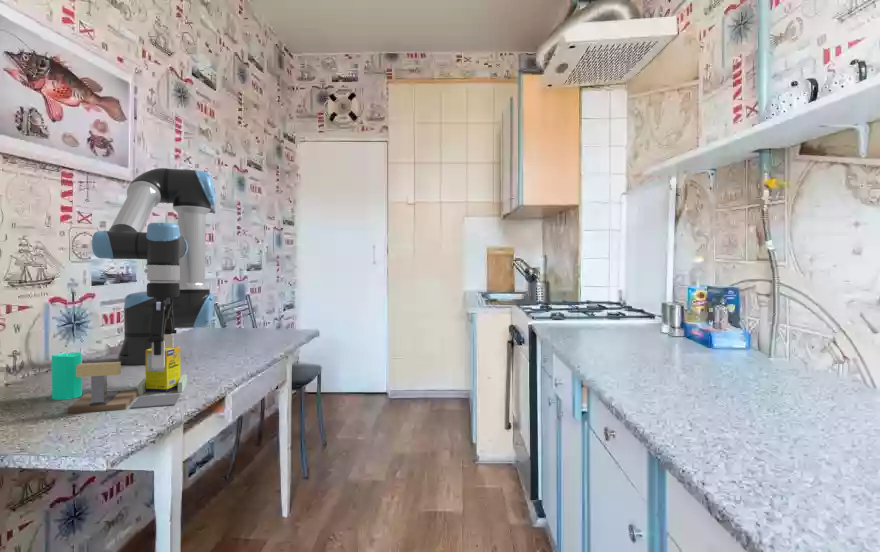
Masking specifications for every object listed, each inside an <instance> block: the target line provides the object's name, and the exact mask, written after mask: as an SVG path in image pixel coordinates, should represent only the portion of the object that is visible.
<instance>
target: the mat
mask: <svg viewBox="0 0 880 552" xmlns="http://www.w3.org/2000/svg"><path fill="white" fill-rule="evenodd" d="M180 396H181V393H174V394H172V393H171V394H161V395H160V394H159V395H146V396H144V395H143V396H138V398H137V399H136V401H135V402H134V403H133V404H132V405H131V406H130V409H132V410H133V409H143V408H157V407H158V408H159V407H169V406H170V407H171V406H175V405H176V404H177V402H178V400H179V398H180Z"/></svg>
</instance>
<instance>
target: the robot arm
mask: <svg viewBox="0 0 880 552" xmlns="http://www.w3.org/2000/svg"><path fill="white" fill-rule="evenodd" d="M159 204H172V209H173V210H174V211H175V212H176V213H177V224H176V223H170V222H149V223H148V225H147V227H146V224H147V222H148V219H149V218H150V215H151V214H152V211H153V209H154V207H156V206H158V205H159ZM216 204H217V203H216V192H215V187H214V180H213V178H212V175H211V174H210V172H208V171H205V170H204V171H203V170H197V169H182V168H181V169H177V168H167V167H166V168H165V167H160V168H159V167H158V168H154V169H150V170H148V171H145V172H143V173H141V174H140V175H137V176H136V177H135V178H134V179H133V180H132V181H131V182H130V183H129V185H128V187H127V188H126V198H125V200H124V202H123V204H122V206H121V207H120V209H119V211H118V212H117V215H116V217H115V219H114V221H113V222H112V224H111V226H110V227H109V230H106V229H105V230H98V231H95V232H94V233H93V235H92V239H91V248H92V253H93V255H94V256H95V257H96V258H97V259H98V258H99V259H108V260H146V265H147V266H146V268H145V269H144V273H146V280H147V281H148V282H147V283H146V290H145V291H139V292H134V293H130V294H127V295H126V296H125V298H124V305H123V306H124V307H123V312H124V315H123V317H124V320H123V322H124V323H123V326H124V327H123V330H124V331H123V332H124V336H123V337H124V339H123V341H122V344H121V347H120V350H119V352H118V356H117V362H121V365H127V366H128V365H129V366H130V365H131V366H133V365H134V366H135V365H137V366H138V365H146V361H145V351H146V350H147V349H151V348H152V368H164V367H165V347H174V335H175V334H177V329H196V328H197V329H199V328H206V327H208V326H209V325H211V322H212V318H213V313H214V310H215V309H214V307H215V298H216V297H215V296H216V295H215V294H214V293H212V292H211V291H210V290H211V288H210V287H209V286H208V285H206V236H207V235H206V232H207V231H206V227H207V226H206V221H207V220H206V218H207V215H208V214H209V213H210V212H211V211H212V210H211V207H213V206H216ZM145 227H146V231H145V232H144V229H145Z"/></svg>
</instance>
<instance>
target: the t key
mask: <svg viewBox="0 0 880 552" xmlns="http://www.w3.org/2000/svg"><path fill="white" fill-rule="evenodd" d="M121 373H122V364H121V362H118V361H112V362H111V361H106V362H87V363H86V362H85V363H83V362H82V364H78V365H77V366H76V377H82V378H83V377H84V378H86V377H87V378H88V377H89V378H90V383H91V384H90V389H91V391H90V392H91V403H98V402H105V401H106V400H107V391H108V376H119V375H120V374H121Z"/></svg>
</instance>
